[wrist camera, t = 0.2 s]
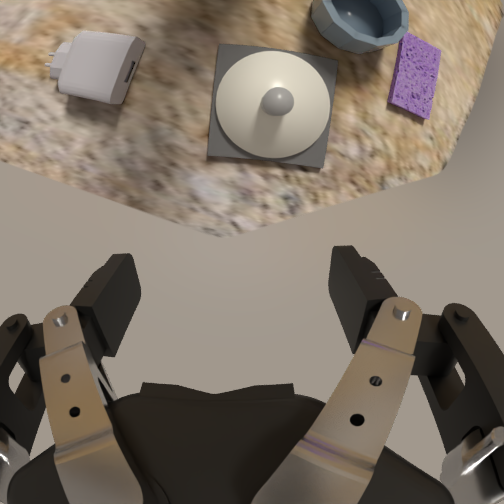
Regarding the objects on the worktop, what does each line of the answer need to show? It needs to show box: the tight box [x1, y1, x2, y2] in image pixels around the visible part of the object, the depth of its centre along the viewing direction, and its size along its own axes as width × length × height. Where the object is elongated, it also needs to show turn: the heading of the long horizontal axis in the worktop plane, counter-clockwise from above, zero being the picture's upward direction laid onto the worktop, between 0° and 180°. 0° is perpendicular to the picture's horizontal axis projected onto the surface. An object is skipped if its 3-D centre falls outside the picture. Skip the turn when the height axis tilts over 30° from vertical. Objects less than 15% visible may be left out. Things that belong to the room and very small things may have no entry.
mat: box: [208, 44, 338, 168], centre depth 32 cm, size 15×15×1 cm
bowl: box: [311, 0, 409, 54], centre depth 23 cm, size 11×11×6 cm
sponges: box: [387, 32, 441, 120], centre depth 29 cm, size 7×13×2 cm, turn 168°
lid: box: [216, 51, 330, 158], centre depth 29 cm, size 14×14×6 cm
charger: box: [45, 31, 145, 104], centre depth 26 cm, size 5×9×15 cm
